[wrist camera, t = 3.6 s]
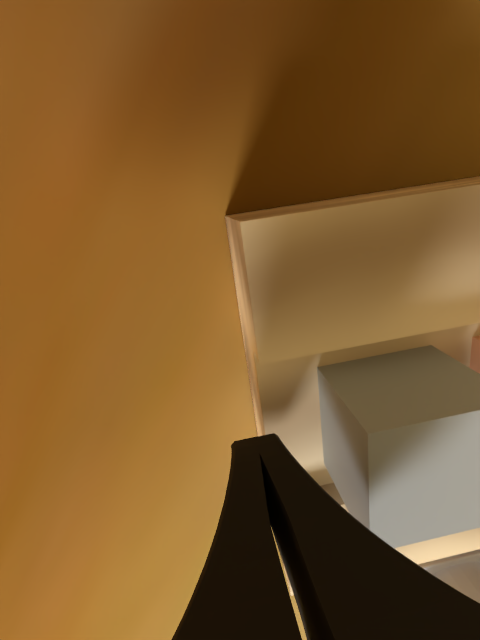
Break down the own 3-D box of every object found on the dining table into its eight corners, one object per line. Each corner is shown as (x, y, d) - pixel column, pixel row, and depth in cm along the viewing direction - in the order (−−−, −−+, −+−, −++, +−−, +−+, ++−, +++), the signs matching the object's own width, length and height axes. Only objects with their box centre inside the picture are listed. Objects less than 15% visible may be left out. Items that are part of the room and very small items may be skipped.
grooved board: (563, 442, 18) (659, 504, 15) (268, 509, 17) (290, 595, 13) (625, 153, 14) (791, 135, 10) (225, 215, 12) (240, 221, 9)
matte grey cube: (426, 441, 13) (505, 521, 10) (323, 463, 13) (369, 553, 10) (431, 344, 12) (524, 400, 8) (317, 366, 11) (367, 433, 8)
